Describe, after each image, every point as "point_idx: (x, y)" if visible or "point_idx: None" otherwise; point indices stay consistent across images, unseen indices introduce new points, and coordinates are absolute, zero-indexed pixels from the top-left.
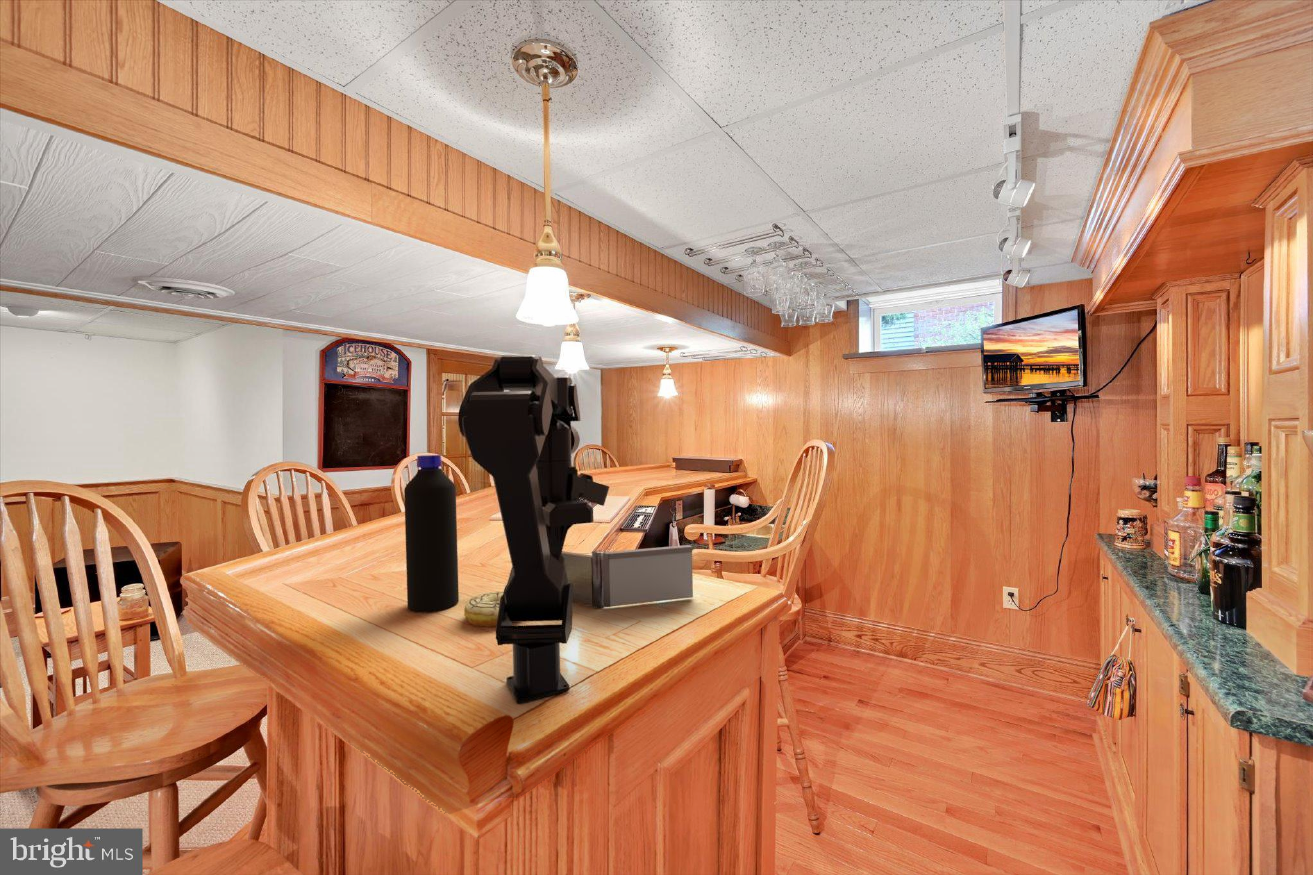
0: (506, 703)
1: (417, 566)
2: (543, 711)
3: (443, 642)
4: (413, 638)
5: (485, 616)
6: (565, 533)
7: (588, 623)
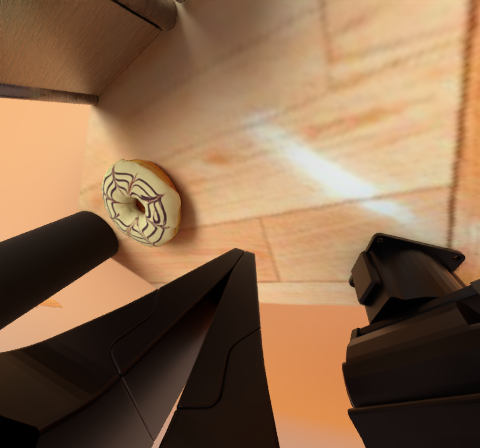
0: None
1: (64, 286)
2: None
3: None
4: None
5: (174, 234)
6: (276, 441)
7: (240, 87)
